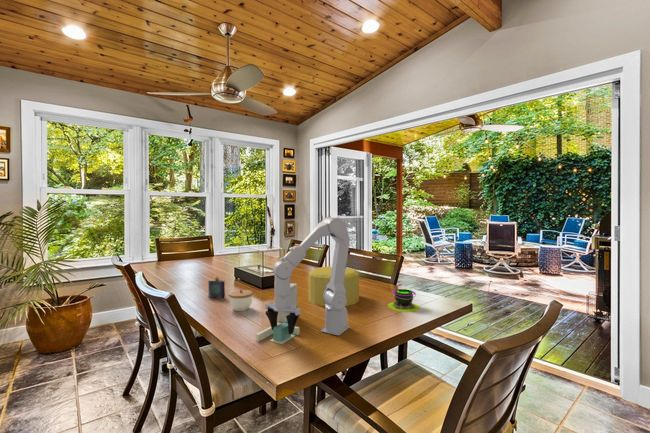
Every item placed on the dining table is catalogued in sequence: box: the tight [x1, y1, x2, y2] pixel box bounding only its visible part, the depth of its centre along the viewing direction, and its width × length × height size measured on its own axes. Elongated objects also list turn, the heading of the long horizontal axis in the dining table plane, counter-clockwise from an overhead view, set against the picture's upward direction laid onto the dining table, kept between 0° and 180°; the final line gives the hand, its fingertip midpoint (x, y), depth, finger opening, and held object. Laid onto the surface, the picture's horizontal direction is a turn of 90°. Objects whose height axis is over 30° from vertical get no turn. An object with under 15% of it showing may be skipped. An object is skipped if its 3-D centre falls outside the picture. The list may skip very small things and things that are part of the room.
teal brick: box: [272, 322, 291, 342], centre depth 118 cm, size 6×4×4 cm, turn 150°
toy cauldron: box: [387, 282, 421, 313], centre depth 155 cm, size 15×15×11 cm
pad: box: [269, 334, 296, 345], centre depth 118 cm, size 8×6×1 cm
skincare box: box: [277, 282, 298, 323], centre depth 137 cm, size 8×6×15 cm
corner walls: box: [255, 321, 300, 343], centre depth 119 cm, size 13×10×2 cm
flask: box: [207, 276, 226, 299], centre depth 170 cm, size 9×3×11 cm, turn 77°
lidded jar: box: [228, 288, 254, 312], centre depth 151 cm, size 11×11×9 cm
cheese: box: [308, 265, 360, 307], centre depth 167 cm, size 26×26×15 cm
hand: (282, 331), depth 118 cm, fingers open, 7 cm apart
